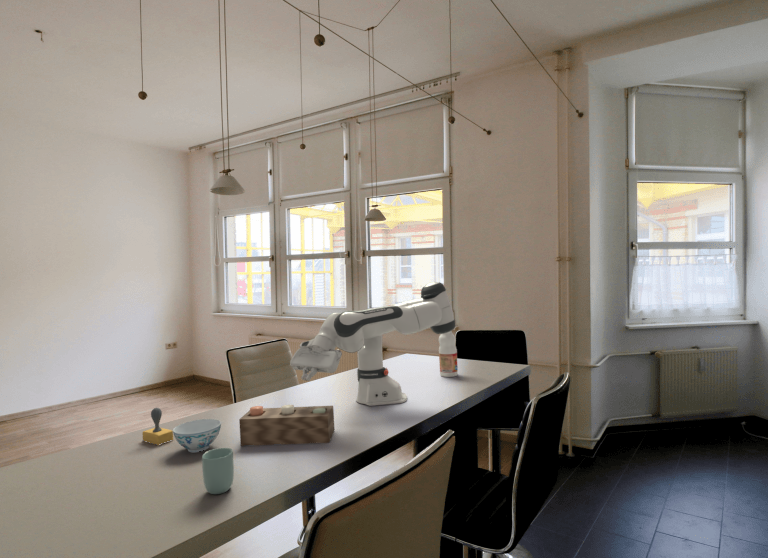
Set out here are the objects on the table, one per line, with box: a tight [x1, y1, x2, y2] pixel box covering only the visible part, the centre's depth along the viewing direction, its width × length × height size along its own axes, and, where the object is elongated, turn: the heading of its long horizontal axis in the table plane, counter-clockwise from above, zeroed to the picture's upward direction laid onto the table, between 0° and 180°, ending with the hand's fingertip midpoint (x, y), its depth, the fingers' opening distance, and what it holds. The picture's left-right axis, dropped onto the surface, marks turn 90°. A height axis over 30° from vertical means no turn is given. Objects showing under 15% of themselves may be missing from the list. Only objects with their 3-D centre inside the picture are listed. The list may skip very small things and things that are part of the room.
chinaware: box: [172, 418, 222, 453], centre depth 152 cm, size 15×15×8 cm
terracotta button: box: [249, 405, 264, 416], centre depth 158 cm, size 4×4×3 cm
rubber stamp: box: [142, 407, 174, 446], centre depth 162 cm, size 10×6×12 cm, turn 58°
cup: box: [201, 447, 235, 495], centre depth 120 cm, size 8×8×10 cm
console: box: [239, 405, 335, 447], centre depth 158 cm, size 30×12×9 cm, turn 87°
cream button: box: [280, 404, 295, 415], centre depth 158 cm, size 4×4×3 cm
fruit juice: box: [438, 330, 459, 378], centre depth 241 cm, size 9×9×28 cm
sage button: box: [313, 408, 326, 413], centre depth 157 cm, size 4×4×3 cm
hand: (305, 379), depth 163 cm, fingers closed
